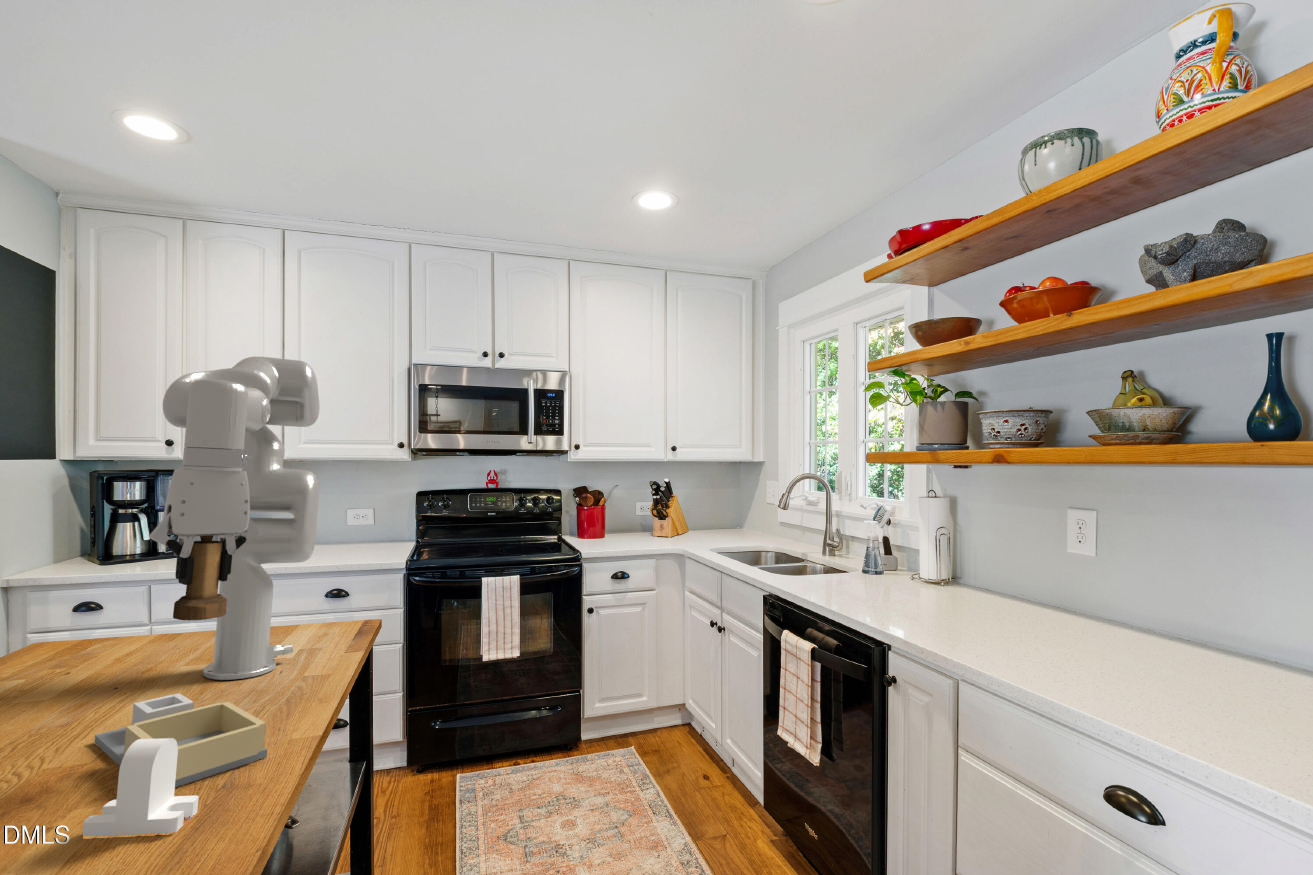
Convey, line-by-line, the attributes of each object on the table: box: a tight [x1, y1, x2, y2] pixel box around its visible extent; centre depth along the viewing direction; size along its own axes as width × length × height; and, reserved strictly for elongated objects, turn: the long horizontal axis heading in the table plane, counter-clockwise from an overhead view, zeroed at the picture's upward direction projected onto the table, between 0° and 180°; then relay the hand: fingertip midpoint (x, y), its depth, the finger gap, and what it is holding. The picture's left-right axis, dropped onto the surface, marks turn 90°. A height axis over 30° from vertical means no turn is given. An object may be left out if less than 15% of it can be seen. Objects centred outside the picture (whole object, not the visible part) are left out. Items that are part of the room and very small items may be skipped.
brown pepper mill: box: [172, 536, 227, 621], centre depth 95 cm, size 7×6×18 cm
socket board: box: [94, 692, 268, 788], centre depth 94 cm, size 14×24×5 cm, turn 55°
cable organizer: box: [81, 738, 199, 836], centre depth 76 cm, size 5×10×10 cm, turn 100°
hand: (203, 580), depth 94 cm, fingers closed on brown pepper mill, 4 cm apart
